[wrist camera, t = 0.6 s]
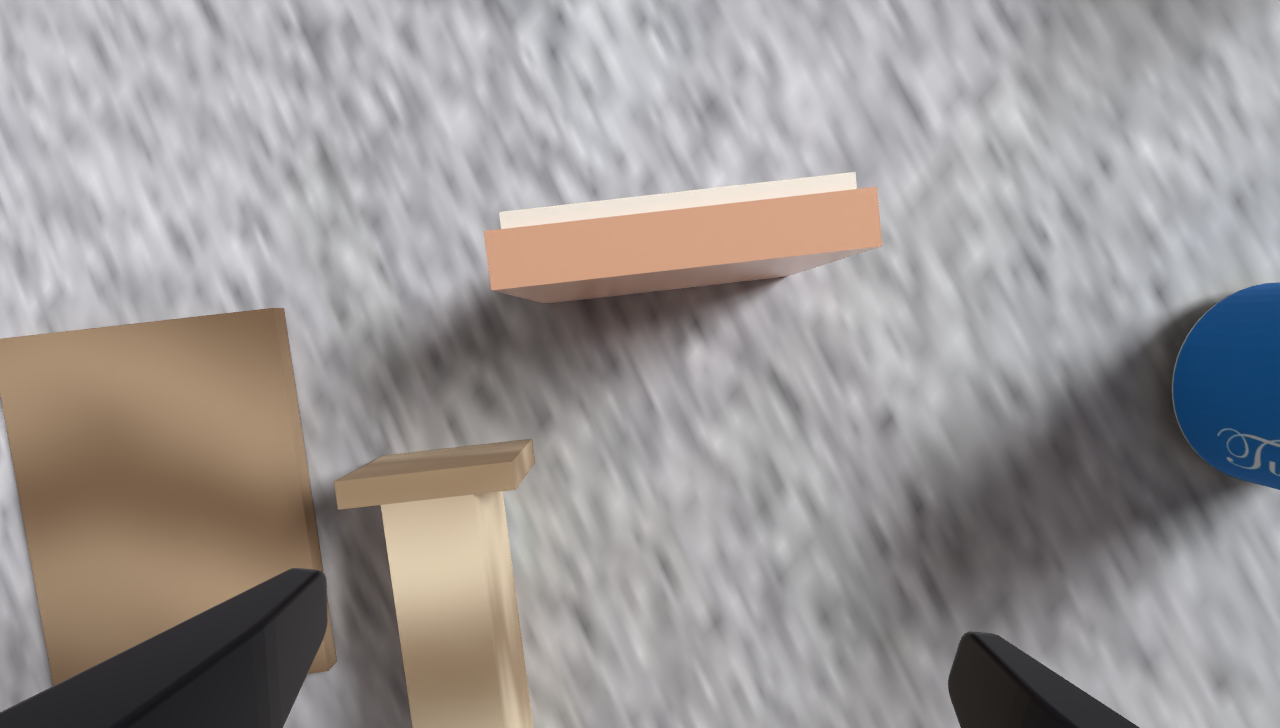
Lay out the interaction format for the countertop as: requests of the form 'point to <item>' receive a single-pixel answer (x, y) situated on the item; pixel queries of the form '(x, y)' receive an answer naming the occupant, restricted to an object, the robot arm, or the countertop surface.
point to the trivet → (156, 475)
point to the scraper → (452, 578)
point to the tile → (681, 238)
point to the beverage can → (1234, 385)
